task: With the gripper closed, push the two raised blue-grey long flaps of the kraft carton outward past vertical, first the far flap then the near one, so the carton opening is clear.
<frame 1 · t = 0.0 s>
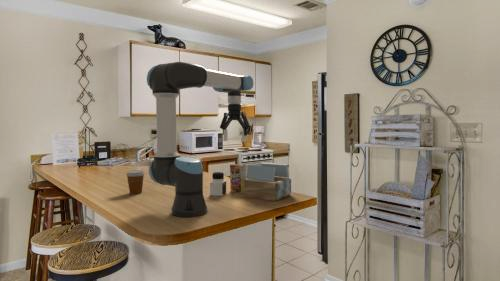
hand: (234, 141, 188), 28 cm above the countertop, tool pointing down, fingers open, 13 cm apart
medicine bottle: (218, 194, 177), on the countertop
disposable coffee cup: (135, 193, 181), on the countertop
far flap: (274, 169, 178), point 13 cm above the countertop, hinge at -15.0°
near flap: (260, 173, 166), point 13 cm above the countertop, hinge at -15.0°
candy box: (238, 192, 183), on the countertop
carton: (267, 195, 173), on the countertop
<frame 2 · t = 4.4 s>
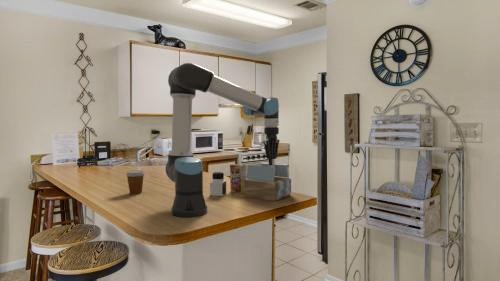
hand: (271, 171, 175), 13 cm above the countertop, tool pointing down, fingers closed
far flap: (274, 169, 178), point 13 cm above the countertop, hinge at -15.0°, touching gripper
everything else where it was.
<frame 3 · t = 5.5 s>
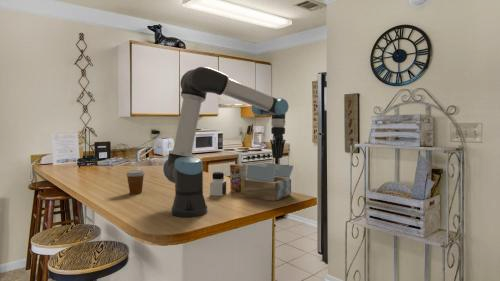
hand: (277, 169, 180), 13 cm above the countertop, tool pointing down, fingers closed
far flap: (278, 170, 181), point 12 cm above the countertop, hinge at 40.1°, touching gripper
everything else where it was.
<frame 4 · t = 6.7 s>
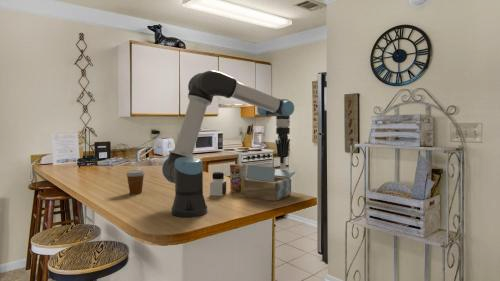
hand: (282, 168, 185), 12 cm above the countertop, tool pointing down, fingers closed
far flap: (279, 173, 182), point 10 cm above the countertop, hinge at 71.2°
everything else where it was.
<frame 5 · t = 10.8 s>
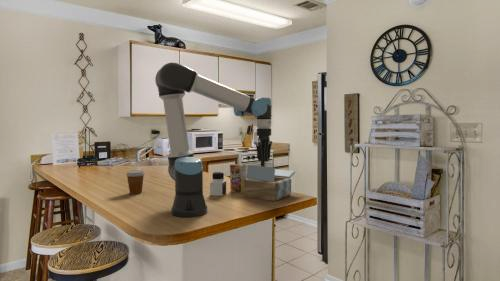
hand: (263, 173, 169), 12 cm above the countertop, tool pointing down, fingers closed
near flap: (260, 173, 166), point 13 cm above the countertop, hinge at -14.9°, touching gripper
everything else where it was.
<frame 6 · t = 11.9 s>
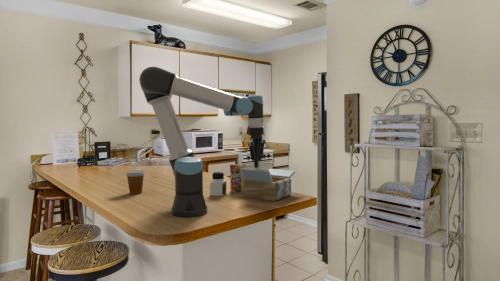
hand: (257, 173, 165), 13 cm above the countertop, tool pointing down, fingers closed
near flap: (256, 175, 164), point 12 cm above the countertop, hinge at 34.1°, touching gripper
everything else where it was.
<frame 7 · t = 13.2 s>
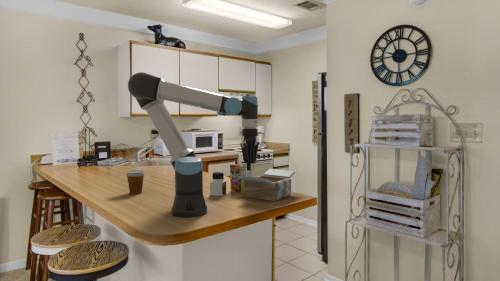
hand: (250, 176, 159), 12 cm above the countertop, tool pointing down, fingers closed
near flap: (255, 179, 162), point 10 cm above the countertop, hinge at 70.4°
everything else where it was.
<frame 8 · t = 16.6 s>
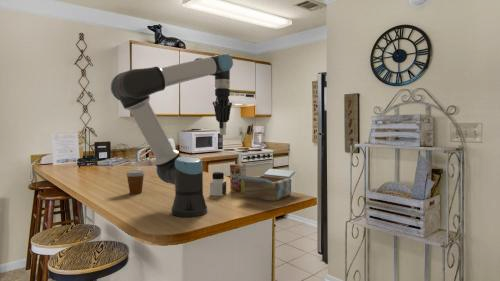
hand: (222, 134, 168), 32 cm above the countertop, tool pointing down, fingers closed
nothing on the countertop moved.
at the end: far flap at +71° (first picture: -15°); near flap at +70° (first picture: -15°) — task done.
